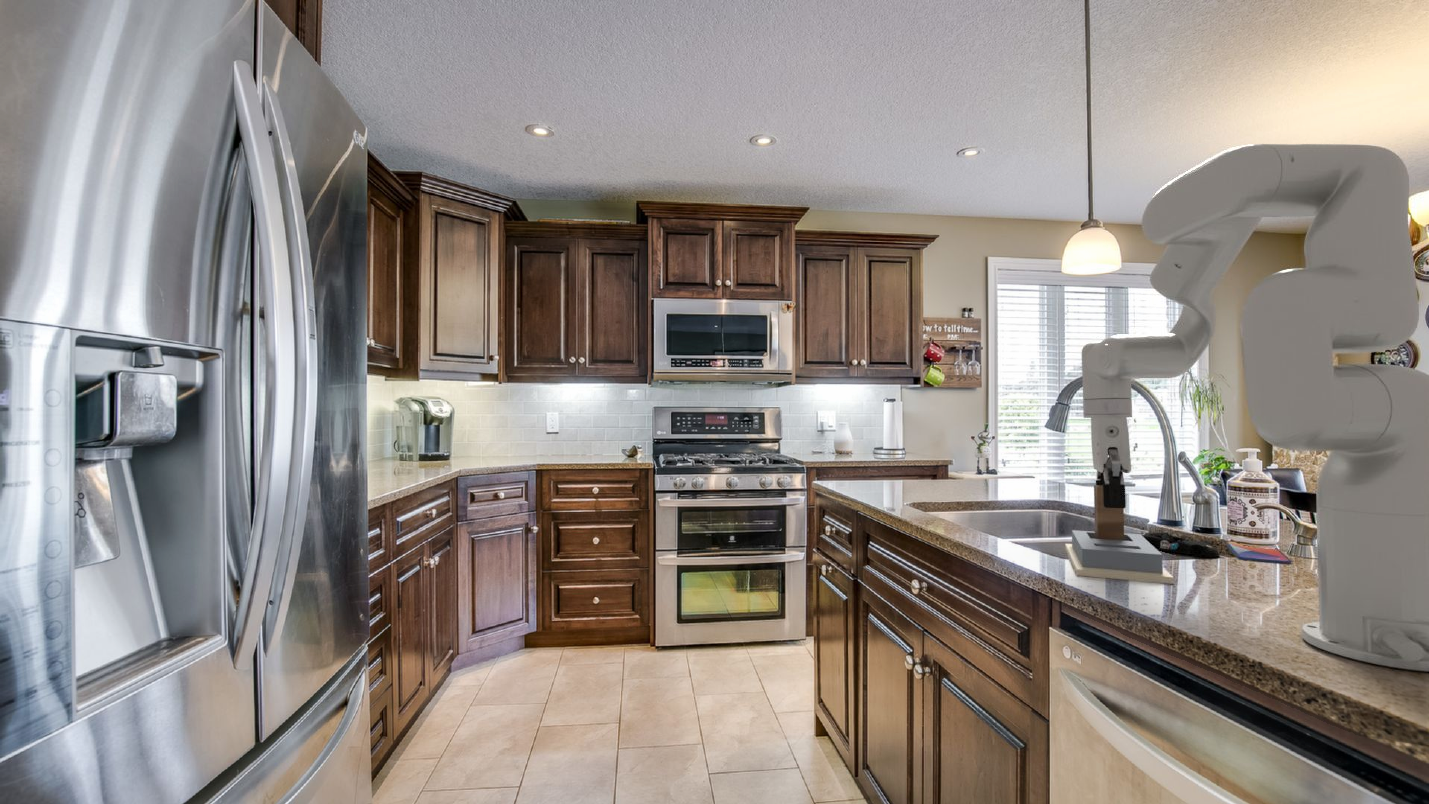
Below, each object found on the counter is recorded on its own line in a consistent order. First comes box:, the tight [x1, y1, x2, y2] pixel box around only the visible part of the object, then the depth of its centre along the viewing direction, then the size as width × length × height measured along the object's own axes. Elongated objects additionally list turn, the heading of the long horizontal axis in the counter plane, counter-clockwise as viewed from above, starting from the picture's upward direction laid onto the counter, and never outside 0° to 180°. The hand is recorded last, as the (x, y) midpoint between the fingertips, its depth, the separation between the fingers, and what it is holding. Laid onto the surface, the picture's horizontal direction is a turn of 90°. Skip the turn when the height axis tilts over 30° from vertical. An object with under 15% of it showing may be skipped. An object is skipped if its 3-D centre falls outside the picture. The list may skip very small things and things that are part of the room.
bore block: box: [1064, 529, 1175, 585], centre depth 110 cm, size 22×13×4 cm, turn 155°
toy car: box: [1141, 532, 1221, 558], centre depth 120 cm, size 8×12×4 cm
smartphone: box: [1225, 540, 1292, 565], centre depth 118 cm, size 7×15×1 cm, turn 148°
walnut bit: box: [1093, 484, 1125, 541], centre depth 115 cm, size 4×4×12 cm
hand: (1110, 504), depth 114 cm, fingers open, 9 cm apart
